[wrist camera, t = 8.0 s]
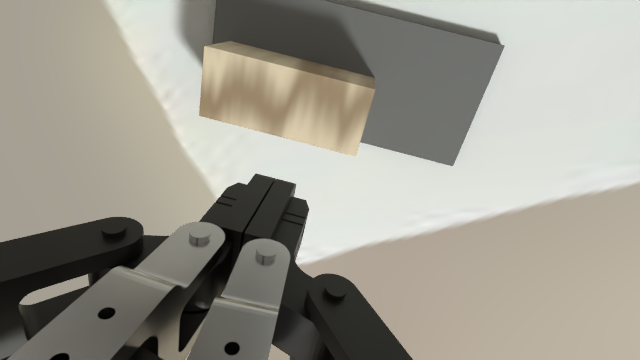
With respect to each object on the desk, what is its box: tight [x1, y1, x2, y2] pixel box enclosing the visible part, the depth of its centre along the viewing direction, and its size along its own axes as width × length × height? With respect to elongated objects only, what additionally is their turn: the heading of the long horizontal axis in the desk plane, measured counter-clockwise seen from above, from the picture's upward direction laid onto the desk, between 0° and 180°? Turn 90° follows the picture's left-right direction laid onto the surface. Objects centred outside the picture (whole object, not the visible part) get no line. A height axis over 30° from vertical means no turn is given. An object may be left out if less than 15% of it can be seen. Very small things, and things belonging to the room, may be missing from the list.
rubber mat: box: [213, 0, 504, 166], centre depth 29 cm, size 10×22×1 cm, turn 77°
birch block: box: [199, 41, 375, 156], centre depth 27 cm, size 5×5×12 cm
